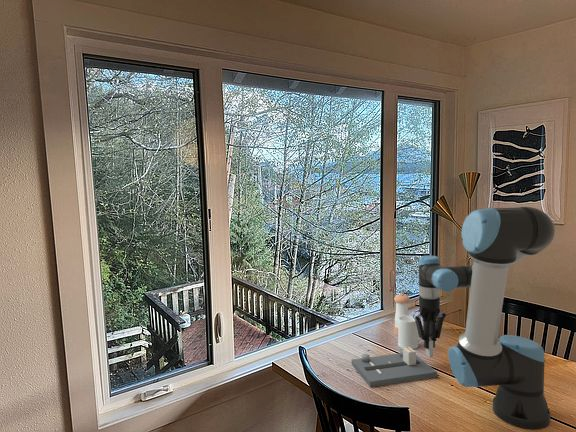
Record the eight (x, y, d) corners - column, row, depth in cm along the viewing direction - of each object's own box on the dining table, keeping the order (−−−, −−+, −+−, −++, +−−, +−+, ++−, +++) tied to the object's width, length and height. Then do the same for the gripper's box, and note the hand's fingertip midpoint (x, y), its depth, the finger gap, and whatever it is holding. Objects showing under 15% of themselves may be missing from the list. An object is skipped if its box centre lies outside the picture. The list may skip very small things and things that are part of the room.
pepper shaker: (400, 329, 192) (399, 290, 190) (413, 333, 186) (413, 293, 185) (391, 333, 187) (390, 293, 186) (404, 337, 182) (404, 296, 180)
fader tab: (415, 364, 151) (415, 351, 150) (408, 365, 150) (408, 352, 150) (410, 359, 155) (409, 346, 155) (402, 360, 154) (402, 347, 154)
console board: (437, 377, 145) (436, 366, 145) (370, 387, 140) (370, 376, 140) (411, 356, 163) (411, 346, 163) (351, 364, 158) (351, 354, 157)
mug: (428, 345, 173) (428, 318, 172) (422, 352, 166) (421, 324, 165) (402, 339, 180) (401, 314, 179) (394, 346, 173) (394, 319, 172)
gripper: (439, 292, 157) (439, 350, 159) (408, 295, 155) (409, 354, 157) (450, 297, 150) (450, 358, 152) (418, 300, 147) (419, 362, 149)
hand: (429, 355), depth 154 cm, fingers closed
